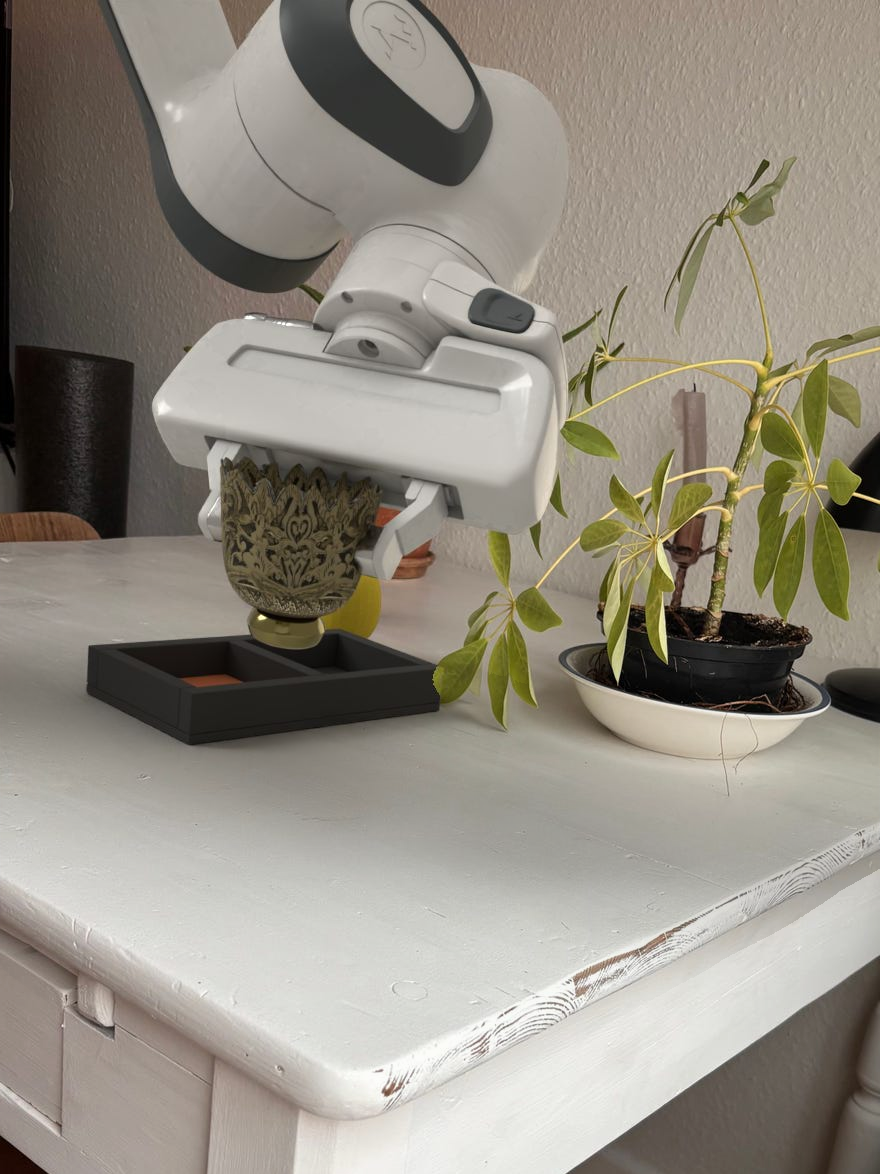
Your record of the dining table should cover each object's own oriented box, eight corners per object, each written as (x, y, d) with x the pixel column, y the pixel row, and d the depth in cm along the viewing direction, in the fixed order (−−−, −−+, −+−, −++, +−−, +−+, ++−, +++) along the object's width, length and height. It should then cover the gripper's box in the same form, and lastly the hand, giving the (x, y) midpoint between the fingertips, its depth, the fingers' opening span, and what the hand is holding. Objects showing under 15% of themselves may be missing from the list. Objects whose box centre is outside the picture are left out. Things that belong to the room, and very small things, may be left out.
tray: (85, 692, 82) (87, 644, 81) (335, 668, 97) (339, 628, 96) (188, 745, 75) (192, 693, 74) (439, 710, 90) (445, 667, 89)
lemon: (317, 661, 98) (328, 556, 95) (296, 643, 102) (306, 542, 99) (384, 664, 100) (397, 561, 97) (361, 646, 105) (373, 547, 102)
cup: (360, 673, 59) (384, 495, 56) (197, 650, 58) (212, 468, 55) (361, 635, 65) (382, 474, 62) (215, 614, 64) (229, 449, 61)
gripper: (206, 259, 65) (76, 462, 60) (590, 320, 59) (483, 551, 54) (243, 357, 70) (127, 551, 65) (597, 421, 65) (501, 639, 60)
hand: (291, 552), depth 60 cm, fingers closed on cup, 7 cm apart
